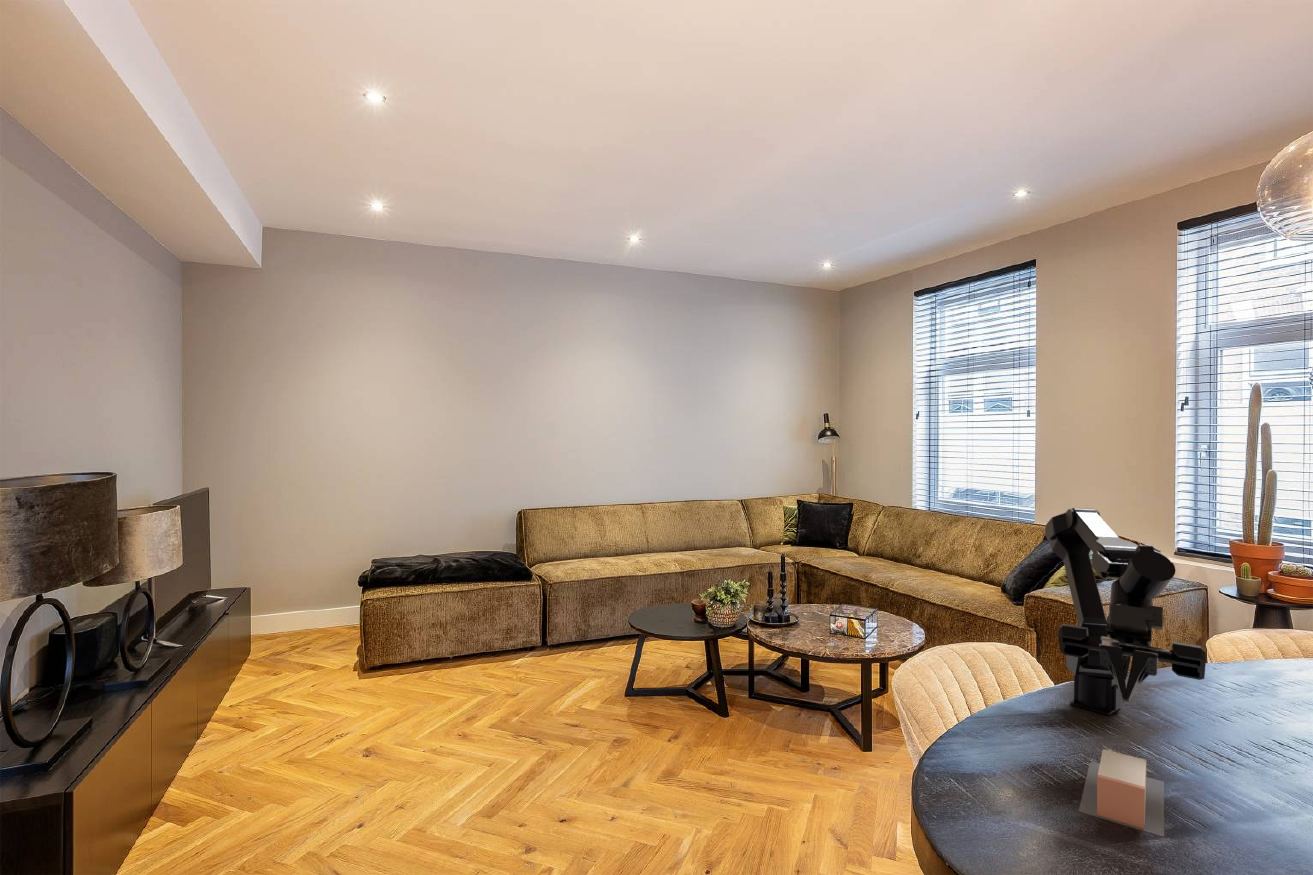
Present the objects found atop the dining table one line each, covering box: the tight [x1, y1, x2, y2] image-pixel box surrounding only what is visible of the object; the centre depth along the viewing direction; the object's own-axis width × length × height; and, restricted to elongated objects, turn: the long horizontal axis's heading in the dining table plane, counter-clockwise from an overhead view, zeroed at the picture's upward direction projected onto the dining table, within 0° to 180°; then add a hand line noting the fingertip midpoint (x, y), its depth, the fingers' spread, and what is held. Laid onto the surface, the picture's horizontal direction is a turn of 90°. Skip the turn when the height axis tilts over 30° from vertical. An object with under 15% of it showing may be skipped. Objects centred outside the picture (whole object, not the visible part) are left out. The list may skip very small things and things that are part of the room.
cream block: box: [1097, 749, 1147, 829], centre depth 89 cm, size 5×5×10 cm
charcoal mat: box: [1078, 762, 1165, 838], centre depth 91 cm, size 17×9×1 cm, turn 142°
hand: (1125, 699), depth 100 cm, fingers closed
